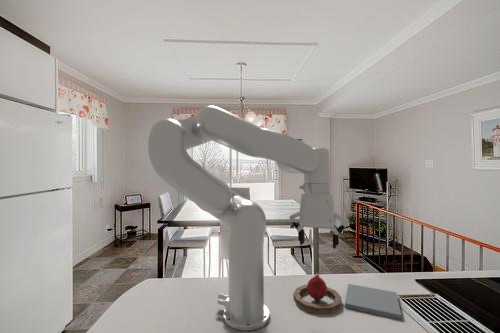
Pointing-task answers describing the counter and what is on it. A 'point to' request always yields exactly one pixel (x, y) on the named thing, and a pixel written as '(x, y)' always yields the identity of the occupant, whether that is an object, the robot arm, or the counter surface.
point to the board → (373, 301)
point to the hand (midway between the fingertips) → (318, 245)
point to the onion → (316, 287)
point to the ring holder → (314, 307)
